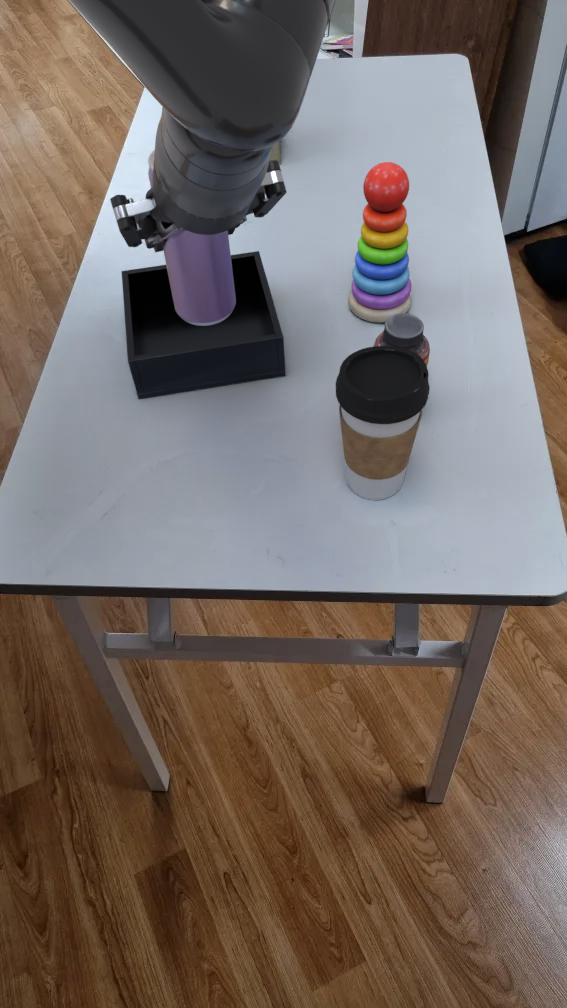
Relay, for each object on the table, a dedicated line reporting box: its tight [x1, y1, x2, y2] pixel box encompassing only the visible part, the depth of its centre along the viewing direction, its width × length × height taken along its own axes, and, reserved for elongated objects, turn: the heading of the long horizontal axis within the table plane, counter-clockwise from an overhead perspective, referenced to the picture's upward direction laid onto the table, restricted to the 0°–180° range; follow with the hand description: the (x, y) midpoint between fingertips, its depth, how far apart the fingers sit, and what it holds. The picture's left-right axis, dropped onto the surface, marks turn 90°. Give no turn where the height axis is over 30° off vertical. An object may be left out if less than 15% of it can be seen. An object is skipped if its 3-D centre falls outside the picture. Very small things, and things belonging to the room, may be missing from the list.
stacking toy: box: [348, 161, 412, 324], centre depth 86 cm, size 8×8×19 cm
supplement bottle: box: [372, 312, 431, 367], centre depth 77 cm, size 6×6×11 cm
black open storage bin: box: [121, 250, 287, 400], centre depth 88 cm, size 18×18×6 cm
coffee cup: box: [335, 345, 430, 501], centre depth 69 cm, size 8×8×15 cm
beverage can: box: [147, 149, 236, 326], centre depth 64 cm, size 6×6×15 cm
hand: (190, 232), depth 66 cm, fingers closed on beverage can, 6 cm apart
